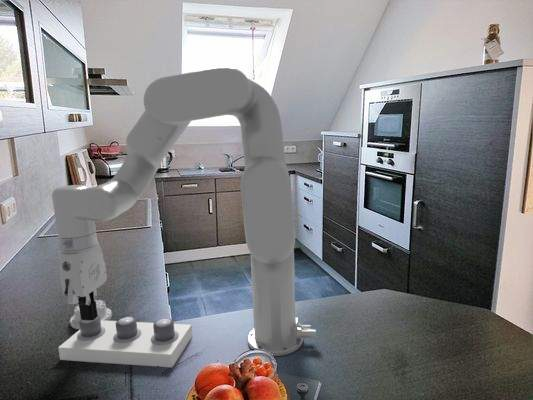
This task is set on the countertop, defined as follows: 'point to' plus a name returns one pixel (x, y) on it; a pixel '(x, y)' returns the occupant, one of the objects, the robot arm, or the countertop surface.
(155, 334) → the knob near
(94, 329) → the knob far
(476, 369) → the countertop surface
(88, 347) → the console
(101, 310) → the mechanical component
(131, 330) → the knob middle
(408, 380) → the countertop surface
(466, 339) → the countertop surface
